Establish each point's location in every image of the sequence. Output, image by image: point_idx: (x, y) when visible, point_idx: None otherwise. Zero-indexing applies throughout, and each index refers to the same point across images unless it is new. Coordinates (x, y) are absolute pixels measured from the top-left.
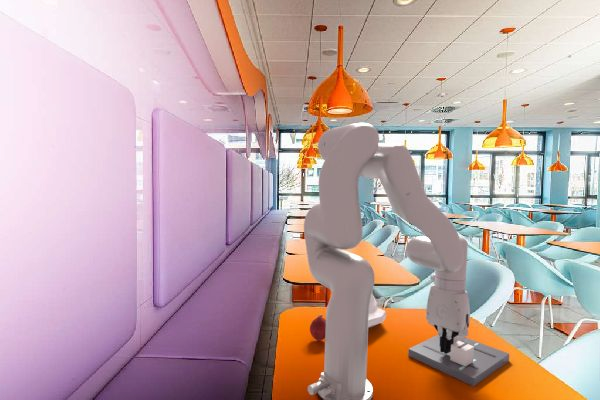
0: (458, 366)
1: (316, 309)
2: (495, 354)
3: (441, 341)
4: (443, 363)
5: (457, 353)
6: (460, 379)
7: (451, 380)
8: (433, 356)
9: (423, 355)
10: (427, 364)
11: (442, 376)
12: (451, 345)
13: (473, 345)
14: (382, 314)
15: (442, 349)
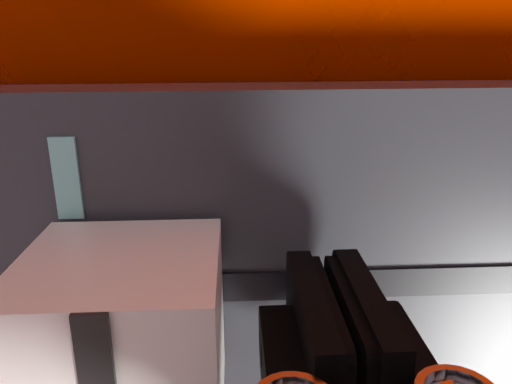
0: (107, 182)
1: None
2: None
3: (381, 313)
4: (233, 108)
5: (121, 265)
6: (50, 85)
7: (94, 9)
8: (380, 157)
9: (467, 89)
10: (387, 81)
11: (184, 4)
12: (209, 306)
13: None
14: None
15: (337, 266)
